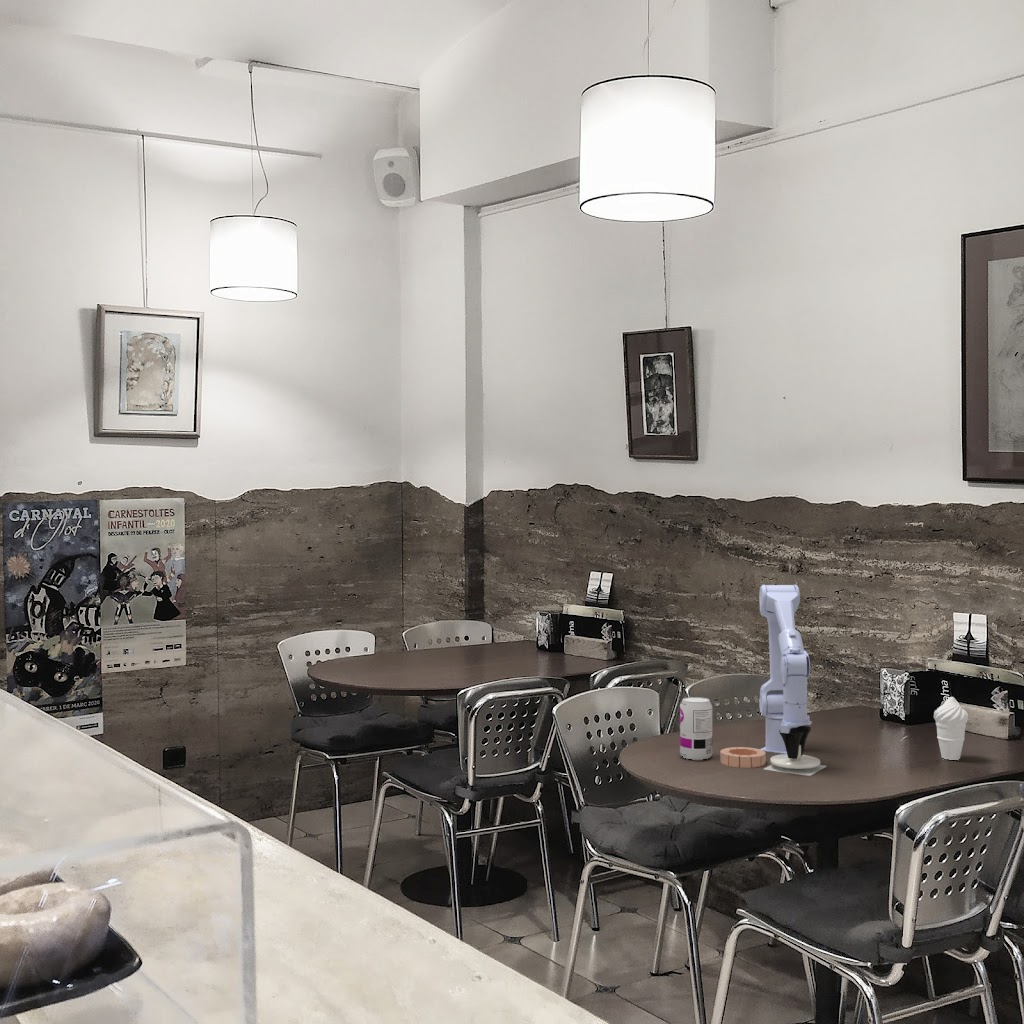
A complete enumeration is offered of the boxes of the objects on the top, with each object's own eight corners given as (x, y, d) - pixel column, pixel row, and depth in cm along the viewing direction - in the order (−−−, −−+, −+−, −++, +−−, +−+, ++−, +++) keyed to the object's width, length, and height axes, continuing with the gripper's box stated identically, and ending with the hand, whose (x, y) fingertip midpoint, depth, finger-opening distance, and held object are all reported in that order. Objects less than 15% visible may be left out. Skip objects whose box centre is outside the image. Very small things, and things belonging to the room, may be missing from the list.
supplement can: (677, 759, 298) (676, 701, 298) (684, 752, 305) (684, 696, 305) (708, 762, 295) (708, 703, 295) (715, 755, 302) (714, 697, 302)
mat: (781, 761, 295) (781, 759, 295) (827, 767, 288) (827, 765, 288) (762, 770, 285) (762, 769, 285) (809, 777, 279) (809, 775, 278)
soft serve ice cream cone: (960, 764, 291) (960, 701, 290) (927, 759, 296) (928, 697, 296) (973, 758, 297) (973, 696, 296) (941, 753, 302) (941, 692, 302)
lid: (781, 755, 295) (781, 737, 295) (827, 761, 288) (827, 743, 288) (762, 764, 286) (762, 746, 285) (809, 771, 279) (809, 752, 278)
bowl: (731, 756, 300) (731, 745, 300) (772, 762, 294) (772, 750, 294) (713, 765, 291) (713, 753, 291) (754, 771, 285) (754, 759, 285)
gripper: (799, 708, 278) (799, 765, 279) (821, 699, 290) (821, 753, 291) (772, 705, 282) (772, 761, 283) (794, 696, 294) (794, 749, 295)
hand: (795, 756), depth 287 cm, fingers closed on lid, 3 cm apart
